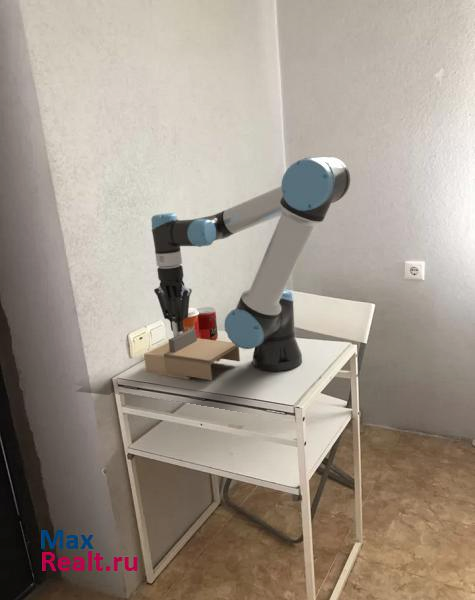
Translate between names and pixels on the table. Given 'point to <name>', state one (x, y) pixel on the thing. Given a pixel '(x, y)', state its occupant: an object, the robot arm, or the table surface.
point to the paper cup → (191, 321)
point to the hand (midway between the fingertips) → (178, 340)
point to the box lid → (197, 354)
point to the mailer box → (159, 361)
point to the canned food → (207, 323)
